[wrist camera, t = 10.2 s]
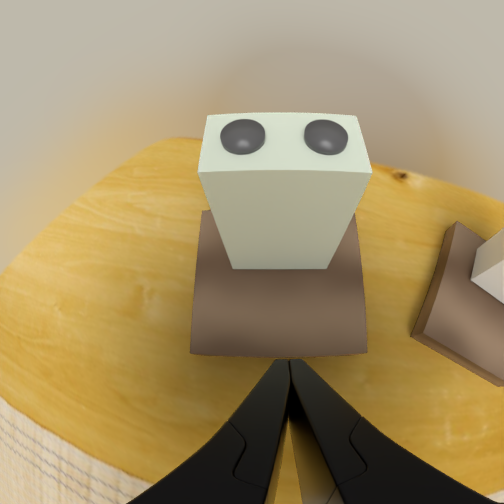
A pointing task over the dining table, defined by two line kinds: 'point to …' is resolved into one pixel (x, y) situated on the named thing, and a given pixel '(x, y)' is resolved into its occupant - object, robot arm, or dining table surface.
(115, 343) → the dining table surface
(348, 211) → the tile two
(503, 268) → the tile one
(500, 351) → the plinth
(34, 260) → the dining table surface
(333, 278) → the plinth
